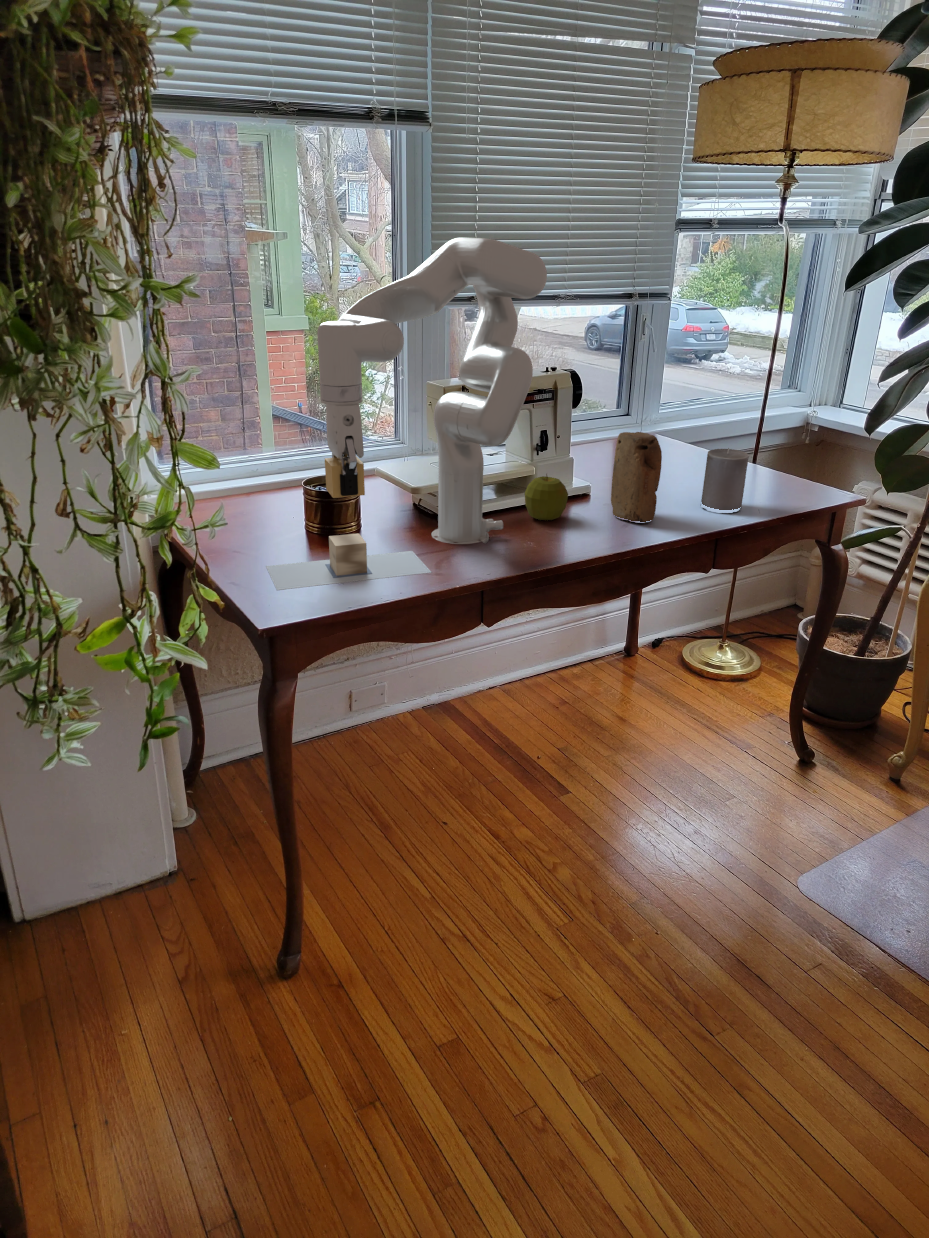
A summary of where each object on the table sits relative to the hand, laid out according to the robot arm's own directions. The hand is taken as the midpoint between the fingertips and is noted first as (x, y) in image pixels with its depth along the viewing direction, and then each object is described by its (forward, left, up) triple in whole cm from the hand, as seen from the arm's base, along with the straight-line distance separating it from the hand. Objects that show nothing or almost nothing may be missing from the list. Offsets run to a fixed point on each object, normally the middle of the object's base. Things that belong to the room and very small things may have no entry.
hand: (345, 489), depth 174 cm
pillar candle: (-97, -16, -18) cm, 100 cm away
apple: (-52, -21, -18) cm, 59 cm away
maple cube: (0, 0, -16) cm, 16 cm away
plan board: (0, 0, -17) cm, 17 cm away
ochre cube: (0, 0, -1) cm, 1 cm away
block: (-72, -15, -18) cm, 76 cm away
